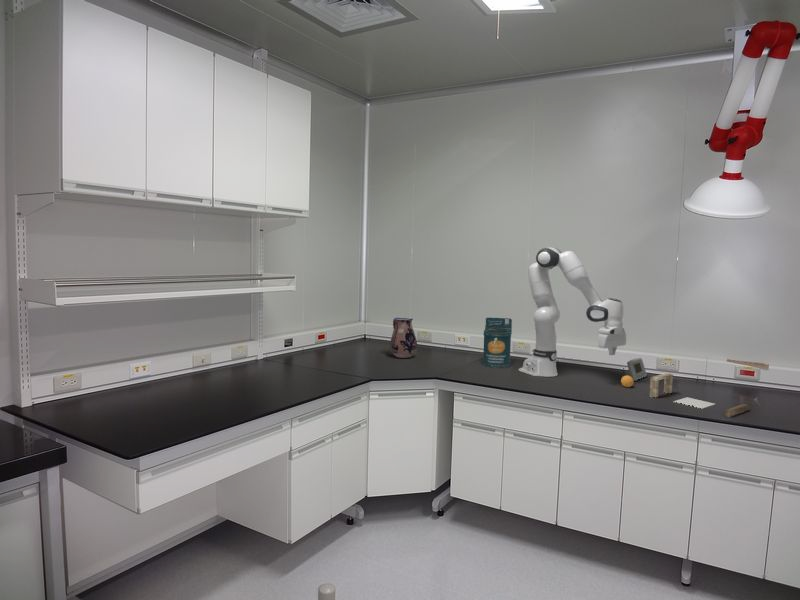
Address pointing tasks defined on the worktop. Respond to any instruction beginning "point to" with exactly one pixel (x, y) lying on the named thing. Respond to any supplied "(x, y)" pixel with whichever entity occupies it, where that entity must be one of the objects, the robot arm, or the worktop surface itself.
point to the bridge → (655, 383)
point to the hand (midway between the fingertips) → (612, 354)
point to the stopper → (736, 410)
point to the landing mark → (694, 402)
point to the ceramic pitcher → (403, 338)
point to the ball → (627, 381)
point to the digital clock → (636, 369)
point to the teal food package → (497, 342)
